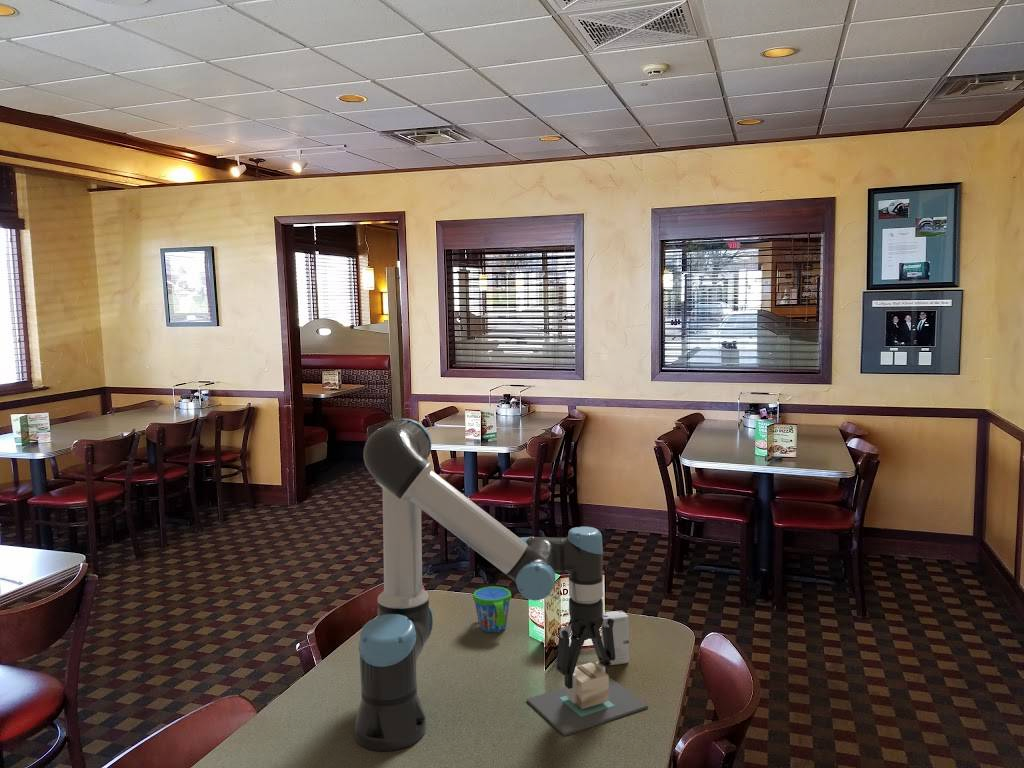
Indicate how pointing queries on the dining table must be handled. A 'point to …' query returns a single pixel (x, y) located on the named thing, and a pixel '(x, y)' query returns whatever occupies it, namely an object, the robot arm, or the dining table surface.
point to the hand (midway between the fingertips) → (586, 695)
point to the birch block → (591, 685)
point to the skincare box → (619, 636)
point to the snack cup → (492, 608)
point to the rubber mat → (585, 709)
